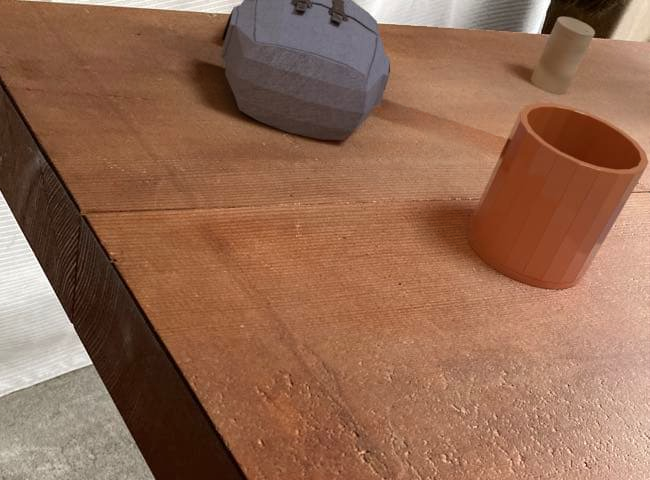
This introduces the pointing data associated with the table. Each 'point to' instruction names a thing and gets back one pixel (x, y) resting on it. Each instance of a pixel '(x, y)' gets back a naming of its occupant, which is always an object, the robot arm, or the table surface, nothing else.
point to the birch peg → (562, 55)
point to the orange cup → (554, 195)
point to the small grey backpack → (305, 64)
